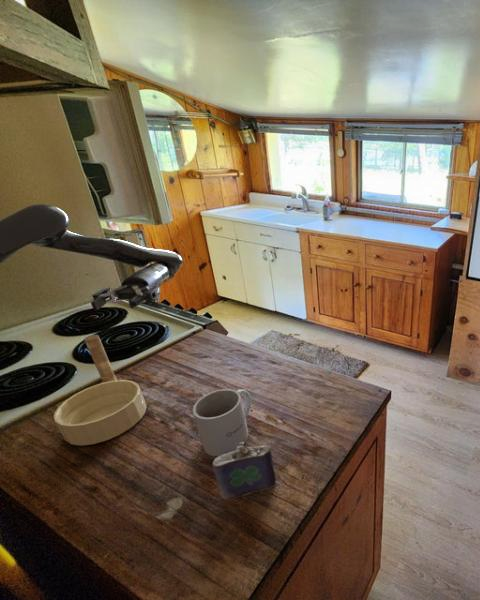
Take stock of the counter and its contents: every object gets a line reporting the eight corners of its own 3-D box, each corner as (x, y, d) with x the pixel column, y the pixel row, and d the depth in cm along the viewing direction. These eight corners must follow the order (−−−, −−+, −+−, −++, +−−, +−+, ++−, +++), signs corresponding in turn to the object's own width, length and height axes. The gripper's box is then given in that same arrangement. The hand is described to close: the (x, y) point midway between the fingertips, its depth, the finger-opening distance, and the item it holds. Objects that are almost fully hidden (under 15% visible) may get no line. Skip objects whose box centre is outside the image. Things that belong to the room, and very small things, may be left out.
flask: (220, 502, 57) (208, 460, 53) (223, 488, 60) (211, 446, 55) (276, 487, 60) (269, 446, 56) (276, 474, 63) (269, 433, 58)
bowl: (47, 451, 65) (34, 430, 63) (92, 403, 77) (82, 383, 75) (127, 442, 68) (117, 421, 65) (158, 396, 80) (151, 377, 78)
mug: (221, 462, 64) (211, 425, 60) (194, 445, 68) (183, 409, 64) (270, 421, 74) (264, 387, 70) (244, 408, 78) (237, 374, 74)
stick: (96, 392, 81) (74, 343, 75) (107, 381, 85) (86, 333, 78) (116, 390, 82) (96, 341, 75) (126, 379, 85) (107, 332, 79)
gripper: (113, 272, 97) (75, 293, 83) (166, 270, 100) (139, 291, 86) (121, 295, 100) (86, 319, 86) (172, 293, 103) (147, 316, 89)
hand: (112, 305), depth 86 cm, fingers open, 8 cm apart
